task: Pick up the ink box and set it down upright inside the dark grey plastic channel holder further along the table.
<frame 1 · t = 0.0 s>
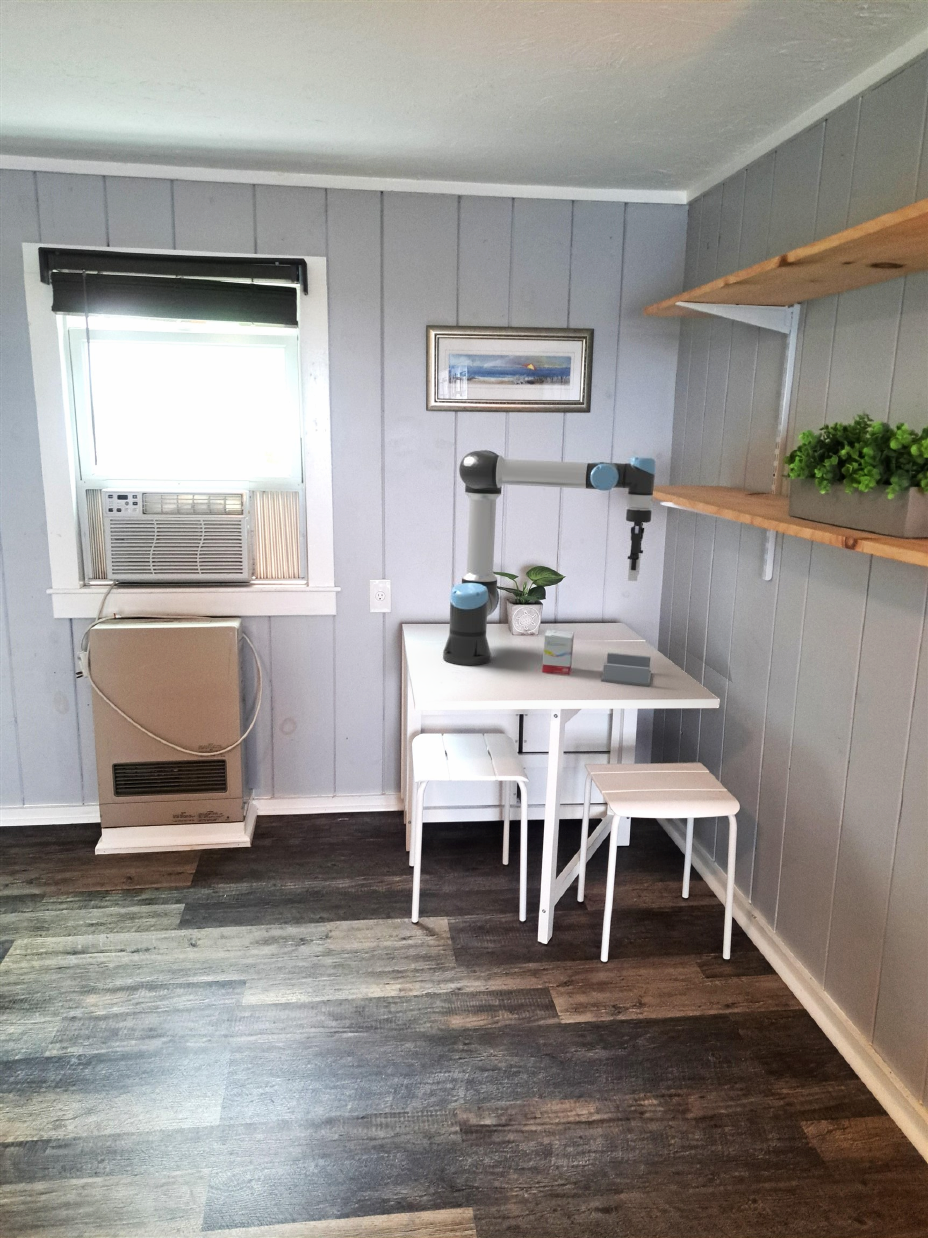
hand: (633, 577, 262), 28 cm above the table, fingers open, 13 cm apart
channel holder: (626, 677, 253), on the table
ink box: (556, 670, 258), on the table
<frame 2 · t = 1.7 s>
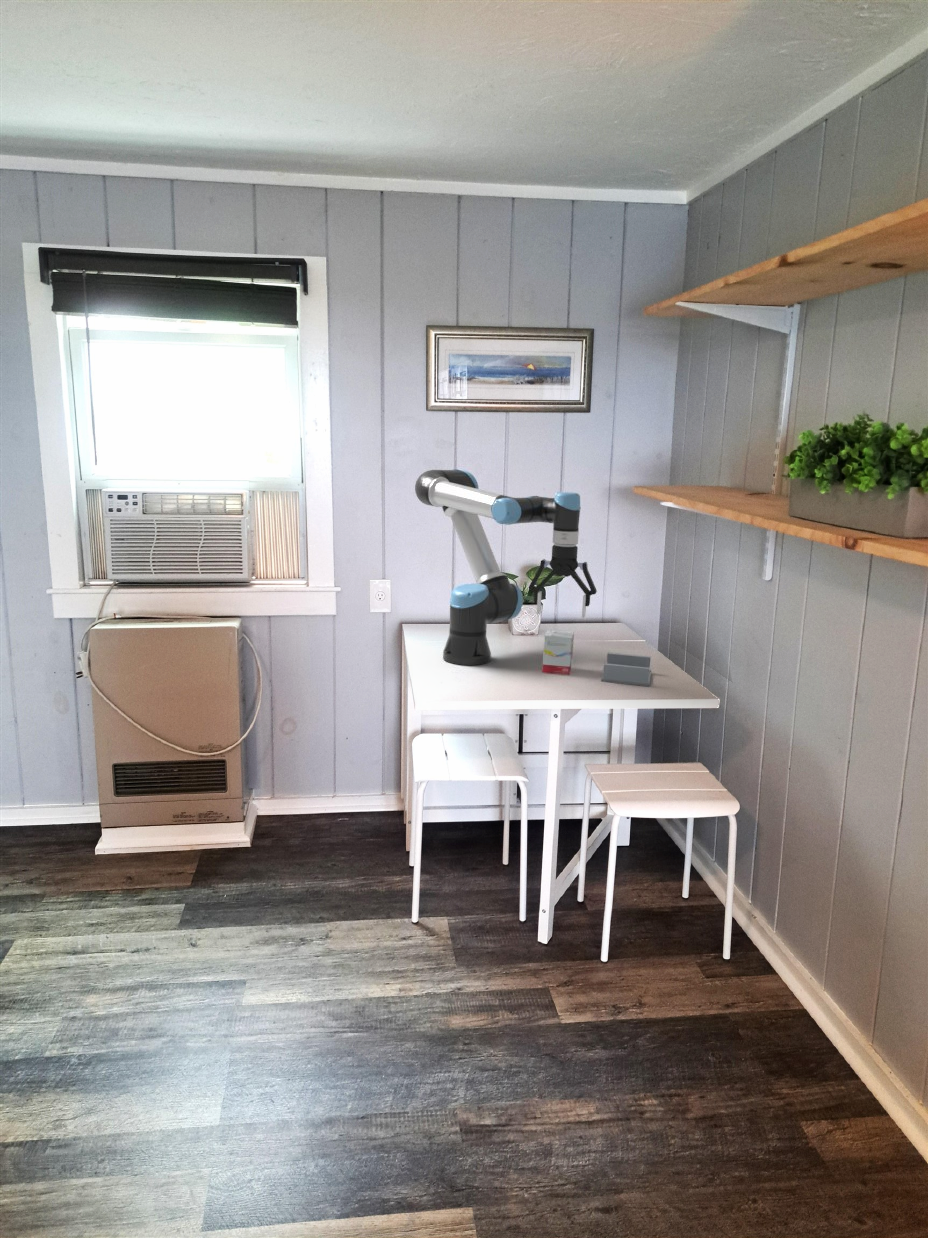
hand: (560, 615, 254), 17 cm above the table, fingers open, 13 cm apart
nothing on the table moved.
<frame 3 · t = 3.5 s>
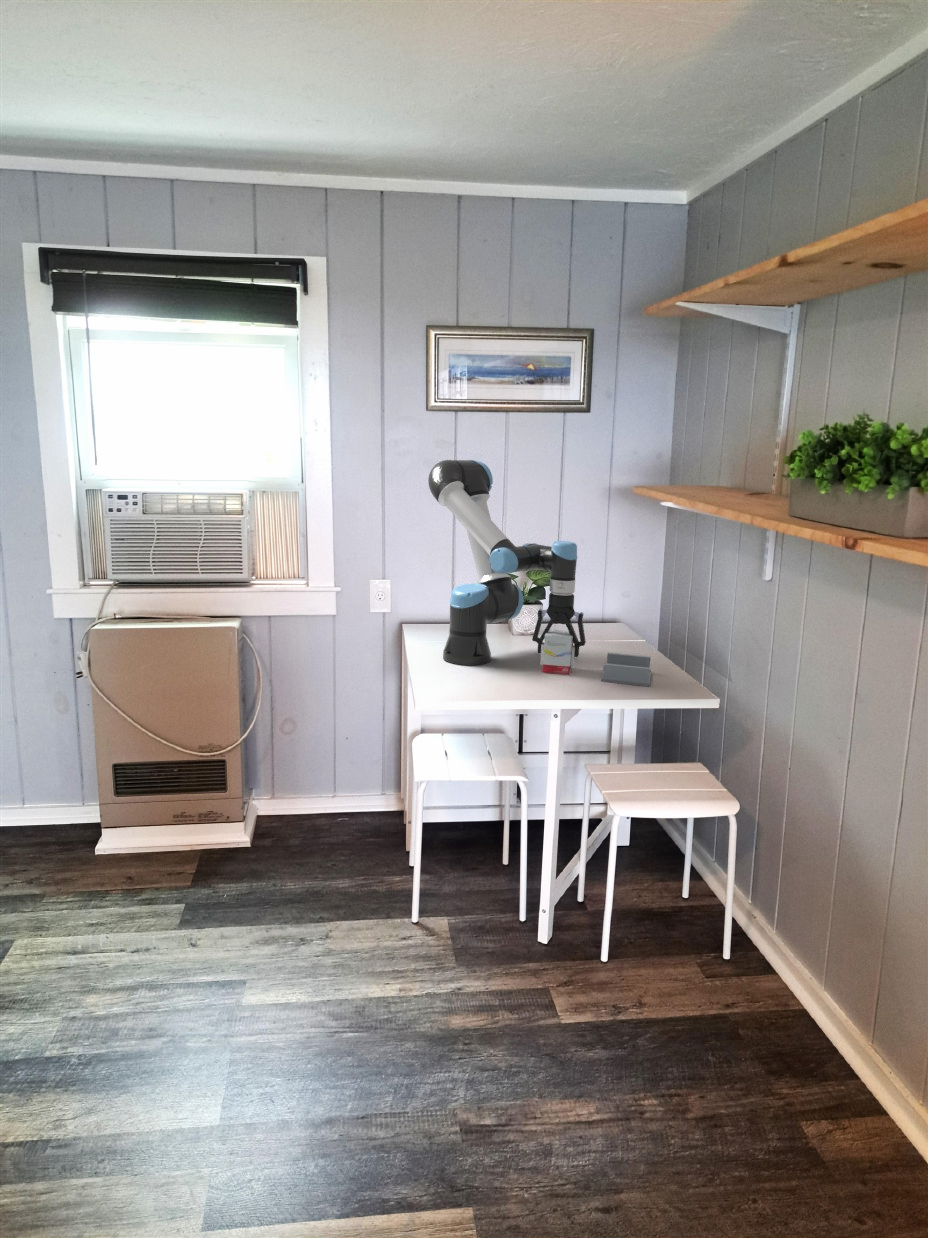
hand: (557, 665, 257), 1 cm above the table, fingers closed on ink box, 9 cm apart
ink box: (557, 670, 258), on the table, touching gripper
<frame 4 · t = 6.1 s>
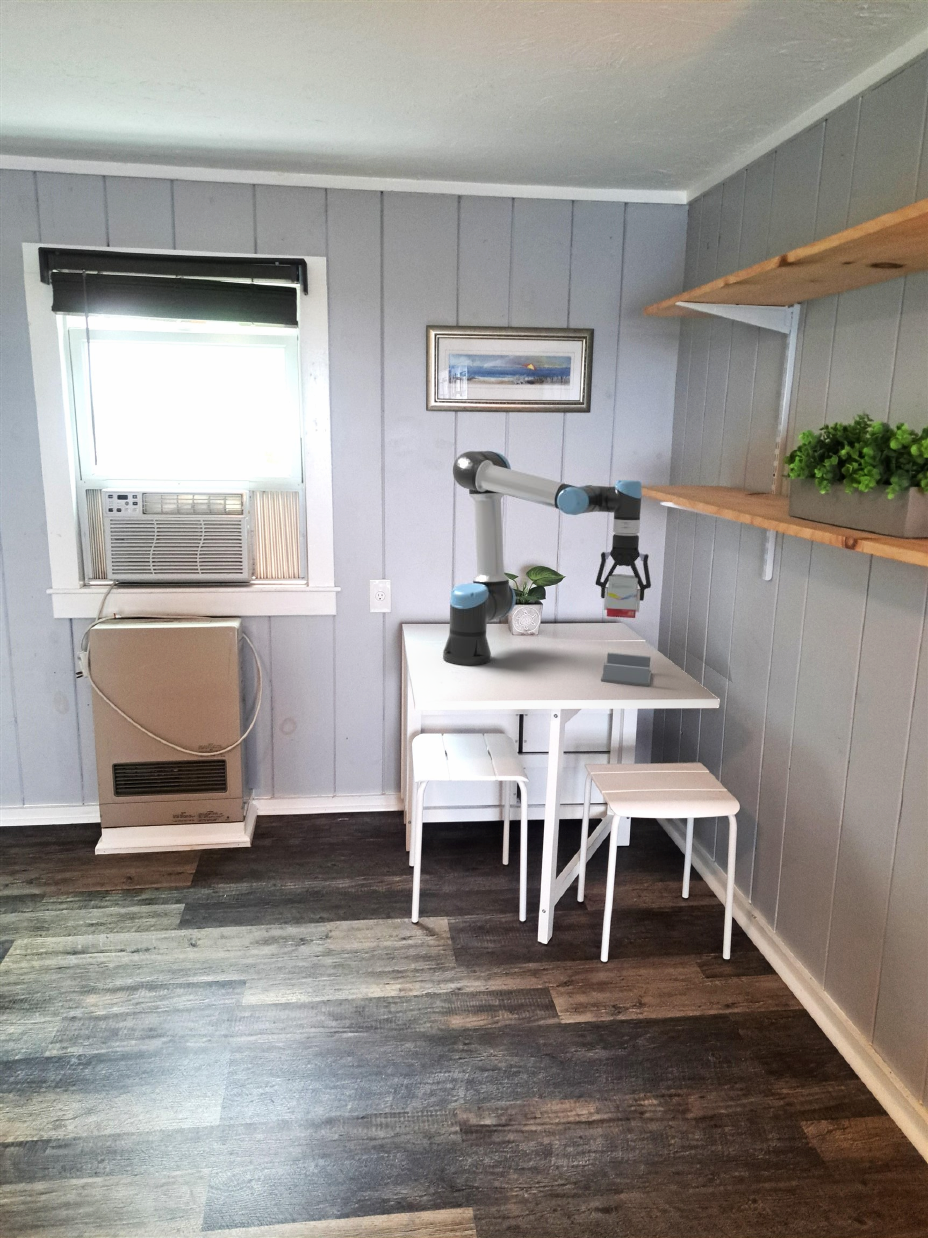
hand: (621, 610, 249), 20 cm above the table, fingers closed on ink box, 9 cm apart
ink box: (621, 615, 249), point 19 cm above the table, touching gripper
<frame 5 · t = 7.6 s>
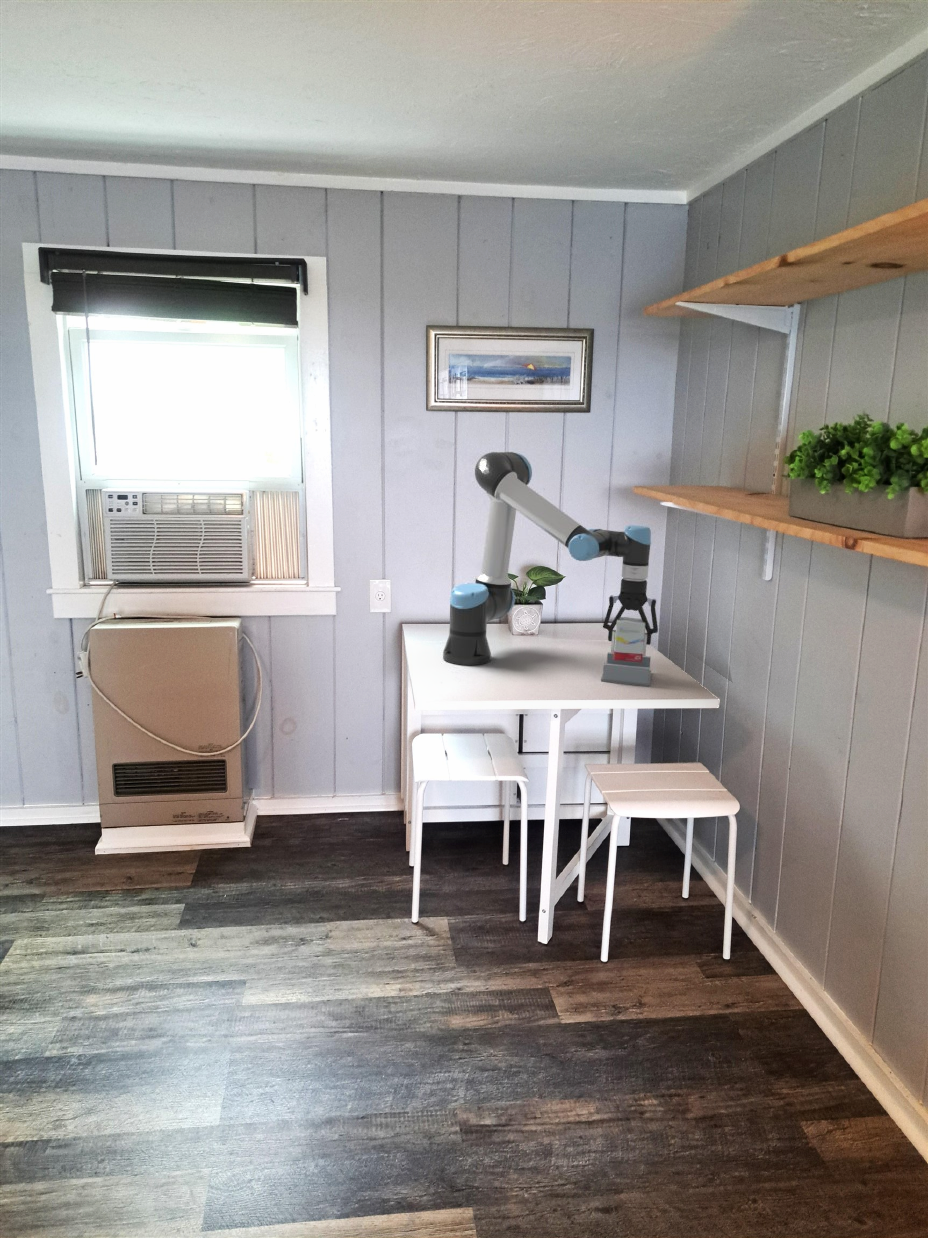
hand: (628, 653, 251), 7 cm above the table, fingers closed on ink box, 9 cm apart
ink box: (627, 658, 252), point 6 cm above the table, touching gripper
when the fingers open (4 cm above the table, at t = 8.8 s): ink box drops 1 cm, resting on channel holder.
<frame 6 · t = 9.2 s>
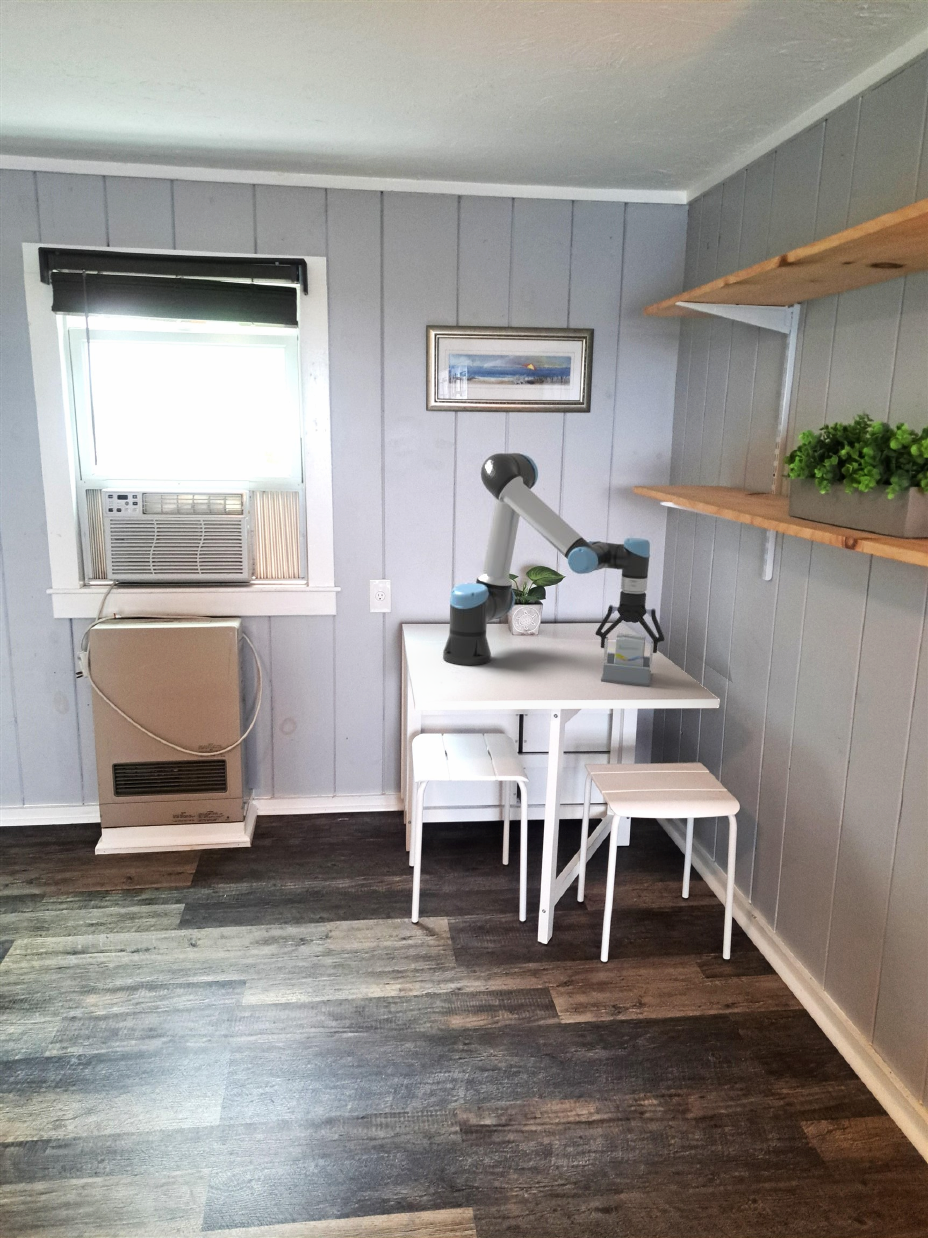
hand: (627, 661, 252), 5 cm above the table, fingers open, 13 cm apart
ink box: (627, 675, 253), point 1 cm above the table, touching channel holder
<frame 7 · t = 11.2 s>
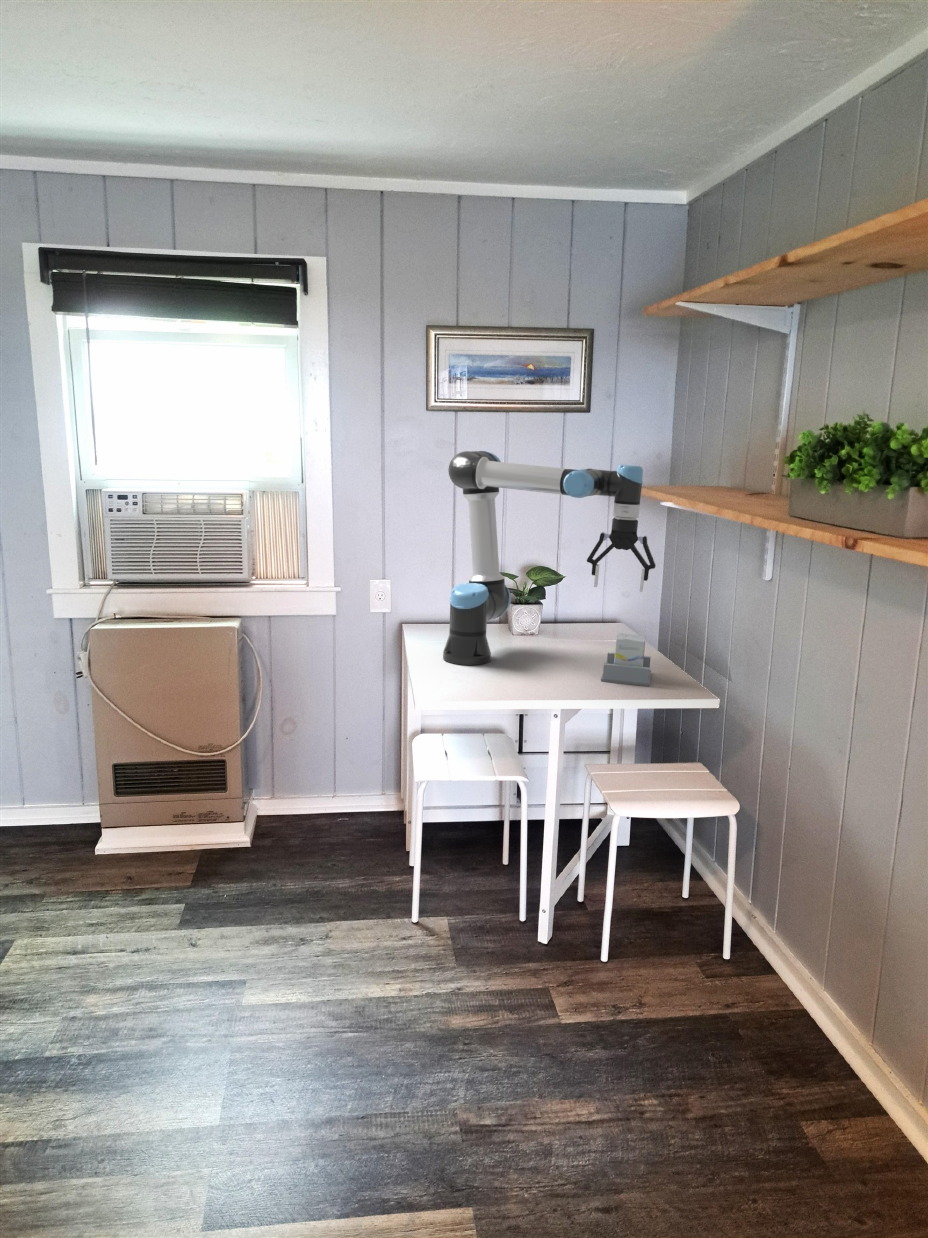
hand: (618, 588, 253), 26 cm above the table, fingers open, 13 cm apart
nothing on the table moved.
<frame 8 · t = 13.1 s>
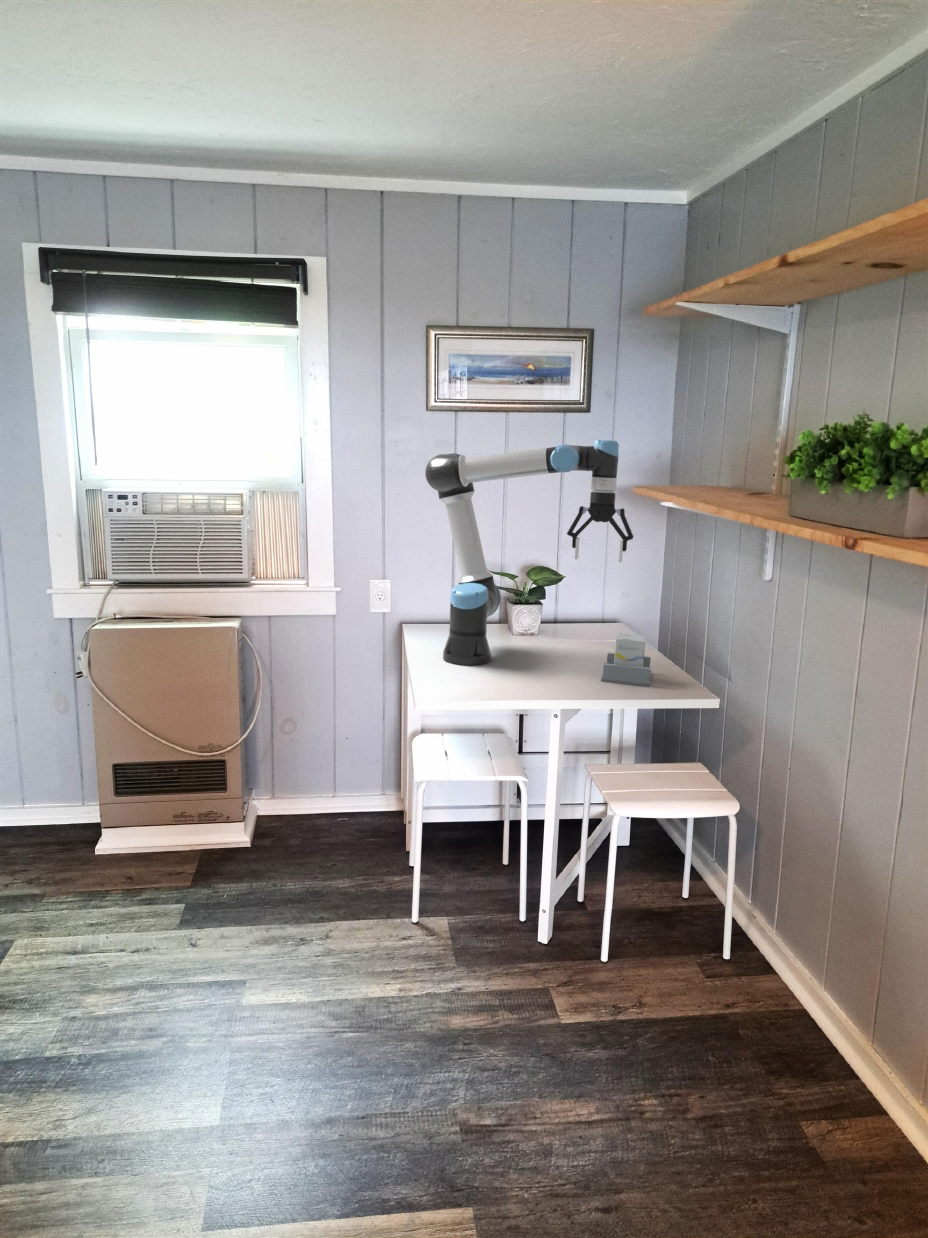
hand: (598, 560, 262), 33 cm above the table, fingers open, 13 cm apart
nothing on the table moved.
at the end: ink box inside the target area on the channel holder (0.4 cm from its centre), point 0.6 cm above the channel holder's base; ink box tilted 0°; the gripper is holding nothing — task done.
